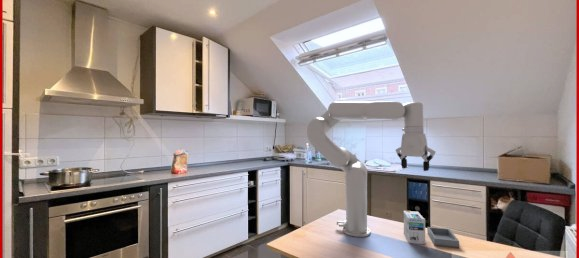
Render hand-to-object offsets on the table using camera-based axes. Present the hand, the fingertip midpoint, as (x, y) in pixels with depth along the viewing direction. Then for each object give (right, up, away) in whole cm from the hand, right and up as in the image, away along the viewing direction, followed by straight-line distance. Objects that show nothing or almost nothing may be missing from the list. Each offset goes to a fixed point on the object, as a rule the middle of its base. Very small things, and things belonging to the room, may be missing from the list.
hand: (414, 169), depth 116 cm
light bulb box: (0, -31, 0) cm, 31 cm away
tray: (+11, -31, -2) cm, 32 cm away
